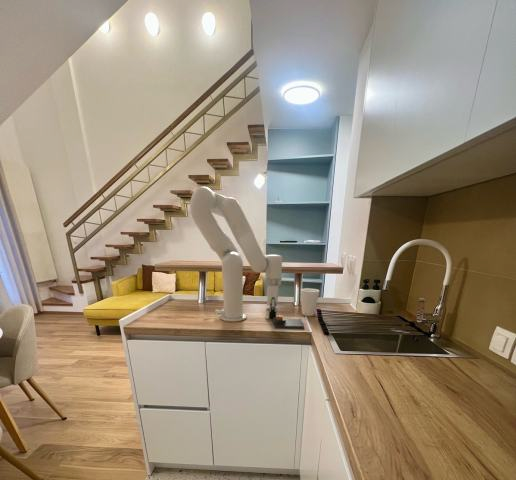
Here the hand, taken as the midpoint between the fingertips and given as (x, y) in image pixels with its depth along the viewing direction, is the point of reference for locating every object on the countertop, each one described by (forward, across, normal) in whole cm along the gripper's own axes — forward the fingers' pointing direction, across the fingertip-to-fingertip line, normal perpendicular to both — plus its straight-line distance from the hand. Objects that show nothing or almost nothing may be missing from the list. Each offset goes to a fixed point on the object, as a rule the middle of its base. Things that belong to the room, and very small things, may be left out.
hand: (272, 316), depth 141 cm
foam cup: (+1, -8, +19) cm, 21 cm away
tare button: (-2, +11, +3) cm, 11 cm away
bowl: (+1, 0, 0) cm, 1 cm away
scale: (+1, +10, +8) cm, 13 cm away
